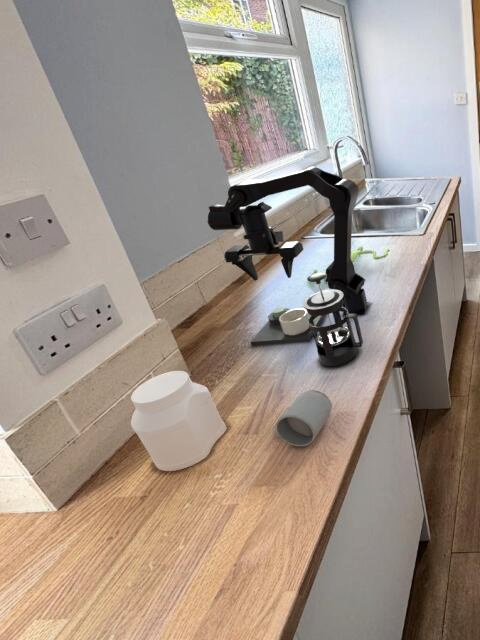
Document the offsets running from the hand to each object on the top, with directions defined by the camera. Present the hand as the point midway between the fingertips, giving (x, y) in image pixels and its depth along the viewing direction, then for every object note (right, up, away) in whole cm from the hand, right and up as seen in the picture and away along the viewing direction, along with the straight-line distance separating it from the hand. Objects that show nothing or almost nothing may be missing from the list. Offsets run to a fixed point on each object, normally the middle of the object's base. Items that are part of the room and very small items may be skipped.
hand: (273, 278), depth 116 cm
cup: (+9, -14, -5) cm, 17 cm away
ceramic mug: (+27, -29, -35) cm, 53 cm away
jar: (+6, -31, -37) cm, 48 cm away
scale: (+6, -14, -2) cm, 16 cm away
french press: (+26, -19, -14) cm, 35 cm away
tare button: (+2, -10, 0) cm, 11 cm away
